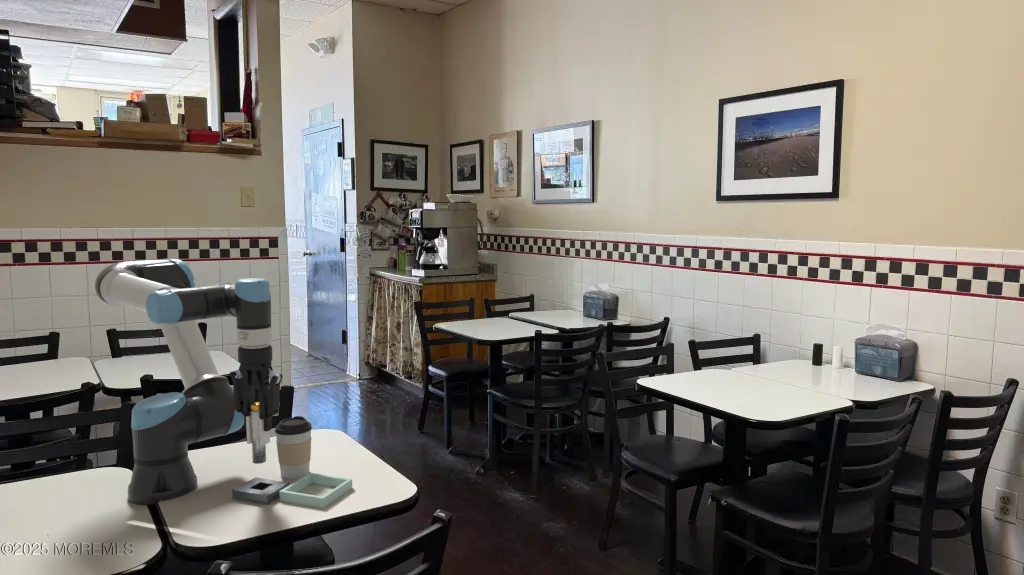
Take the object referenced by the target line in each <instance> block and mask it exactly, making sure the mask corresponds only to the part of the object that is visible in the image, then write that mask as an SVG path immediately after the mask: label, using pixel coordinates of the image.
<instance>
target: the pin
mask: <svg viewBox="0 0 1024 575" xmlns="http://www.w3.org/2000/svg"><path fill="white" fill-rule="evenodd" d="M250 406H251V432H252V443H251V453H252V454H251V456H252V463H253V464H255V465H256V464H264V463H266V462H267V452H266V449H267V447H266V445H267V444H265V445H263V446H260V438H259V418H260V417H261V416H262V415H261V409H260V403H259V401H256V402H255V401H254V403H251V404H250Z"/></svg>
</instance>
